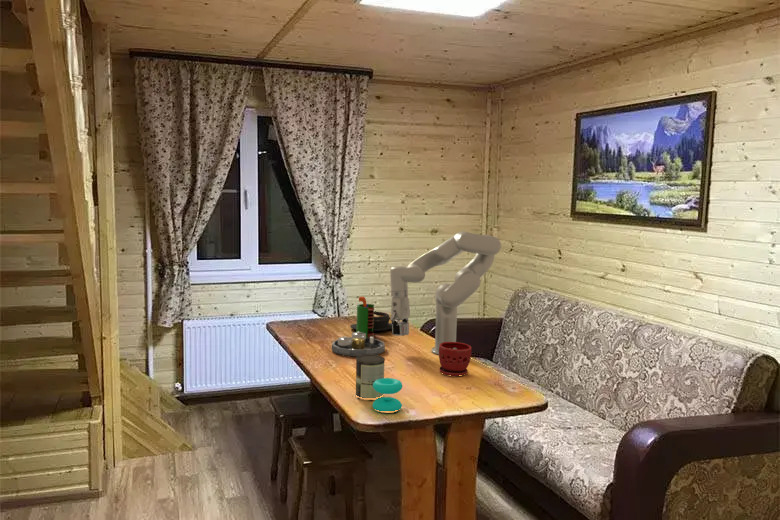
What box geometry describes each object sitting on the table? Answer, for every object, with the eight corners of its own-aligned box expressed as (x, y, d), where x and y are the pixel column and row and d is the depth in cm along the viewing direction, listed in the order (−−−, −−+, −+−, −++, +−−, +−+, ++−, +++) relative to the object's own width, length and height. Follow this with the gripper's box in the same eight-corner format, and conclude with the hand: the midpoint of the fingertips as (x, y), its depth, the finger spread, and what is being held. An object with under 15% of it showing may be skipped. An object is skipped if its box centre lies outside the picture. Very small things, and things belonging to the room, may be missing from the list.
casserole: (354, 334, 334) (354, 318, 333) (346, 326, 352) (347, 311, 351) (401, 333, 341) (402, 317, 340) (392, 325, 359) (392, 310, 358)
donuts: (408, 383, 223) (382, 387, 217) (407, 411, 224) (382, 416, 219) (392, 375, 231) (367, 379, 226) (391, 403, 232) (367, 407, 227)
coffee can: (349, 396, 238) (350, 358, 236) (368, 390, 246) (369, 353, 244) (371, 403, 232) (371, 363, 230) (389, 396, 240) (390, 358, 238)
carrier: (393, 348, 308) (394, 333, 308) (367, 360, 287) (368, 343, 286) (349, 341, 320) (349, 326, 319) (321, 352, 299) (321, 336, 298)
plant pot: (444, 379, 262) (445, 349, 260) (433, 370, 274) (434, 341, 273) (475, 377, 265) (476, 348, 264) (463, 368, 278) (464, 340, 276)
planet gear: (411, 332, 301) (411, 322, 301) (404, 336, 295) (404, 325, 294) (397, 331, 305) (396, 320, 304) (389, 335, 298) (389, 324, 298)
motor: (373, 339, 325) (374, 299, 323) (355, 338, 326) (356, 298, 323) (374, 334, 335) (375, 295, 333) (356, 334, 336) (357, 295, 333)
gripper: (397, 297, 288) (399, 337, 291) (415, 290, 303) (416, 328, 306) (382, 296, 292) (384, 335, 294) (400, 290, 307) (402, 327, 309)
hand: (400, 331), depth 300 cm, fingers closed on planet gear, 7 cm apart
